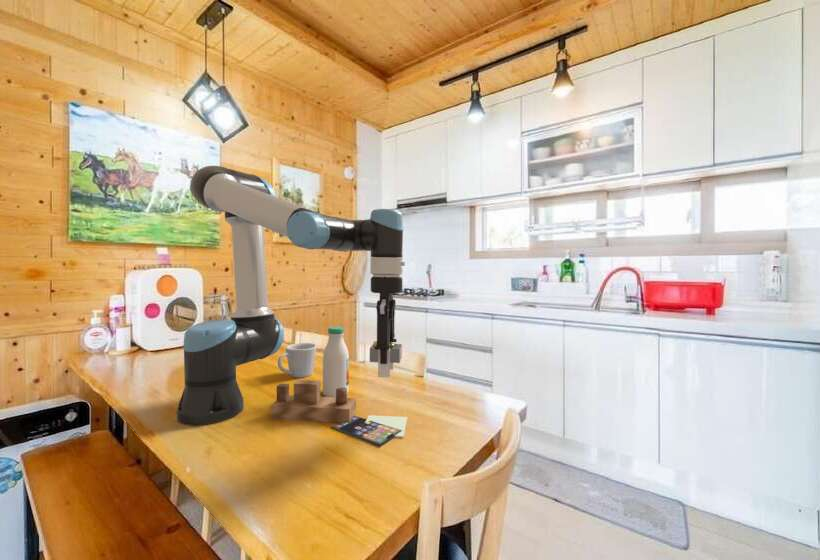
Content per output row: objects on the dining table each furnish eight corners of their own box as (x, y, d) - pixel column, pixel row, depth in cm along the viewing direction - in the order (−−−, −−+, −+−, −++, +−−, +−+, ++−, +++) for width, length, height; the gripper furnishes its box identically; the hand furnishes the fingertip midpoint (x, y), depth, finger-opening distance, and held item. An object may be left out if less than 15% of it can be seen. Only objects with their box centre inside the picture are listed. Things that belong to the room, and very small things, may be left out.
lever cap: (369, 362, 83) (369, 344, 83) (373, 356, 88) (373, 339, 88) (399, 362, 82) (399, 344, 82) (401, 357, 87) (401, 340, 87)
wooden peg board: (271, 418, 89) (270, 385, 89) (283, 407, 96) (283, 376, 96) (349, 422, 88) (349, 389, 87) (355, 411, 95) (356, 379, 94)
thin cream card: (360, 435, 81) (360, 433, 81) (368, 416, 91) (368, 415, 91) (403, 437, 81) (403, 436, 81) (407, 418, 90) (407, 417, 90)
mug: (323, 373, 126) (323, 345, 126) (288, 385, 114) (288, 354, 113) (303, 368, 132) (303, 341, 131) (267, 379, 119) (267, 349, 119)
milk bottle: (342, 399, 103) (343, 330, 102) (318, 396, 104) (318, 329, 103) (352, 389, 110) (352, 325, 109) (329, 387, 112) (329, 324, 111)
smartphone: (354, 417, 92) (354, 413, 91) (401, 434, 83) (401, 429, 83) (331, 429, 85) (331, 424, 85) (380, 449, 76) (380, 443, 76)
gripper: (397, 277, 75) (397, 386, 76) (405, 274, 93) (405, 362, 94) (362, 277, 75) (362, 385, 76) (377, 274, 93) (377, 361, 95)
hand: (386, 372), depth 85 cm, fingers closed on lever cap, 5 cm apart
